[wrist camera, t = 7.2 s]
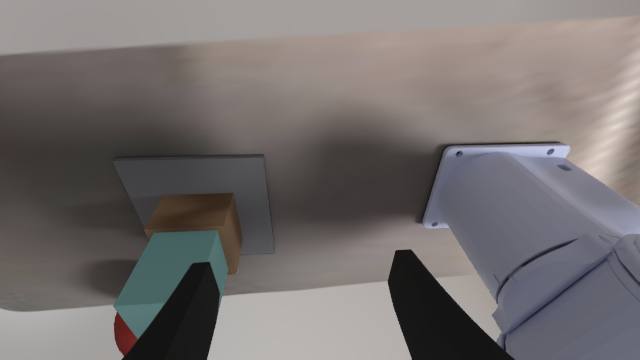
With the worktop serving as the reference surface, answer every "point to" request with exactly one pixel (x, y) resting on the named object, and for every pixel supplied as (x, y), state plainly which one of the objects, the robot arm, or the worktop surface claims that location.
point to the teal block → (167, 273)
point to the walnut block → (201, 220)
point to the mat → (204, 189)
